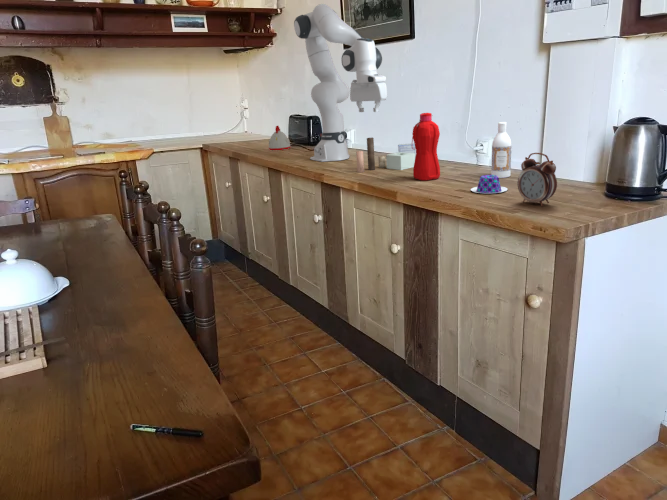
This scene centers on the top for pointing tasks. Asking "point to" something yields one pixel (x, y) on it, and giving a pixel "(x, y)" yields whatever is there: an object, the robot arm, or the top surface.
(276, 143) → the kitchen timer
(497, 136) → the bath foam
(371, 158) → the long pin
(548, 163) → the alarm clock
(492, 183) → the pudding
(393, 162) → the hole block
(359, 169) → the medium pin
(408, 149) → the medicine box
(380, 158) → the short pin
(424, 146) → the water bottle
